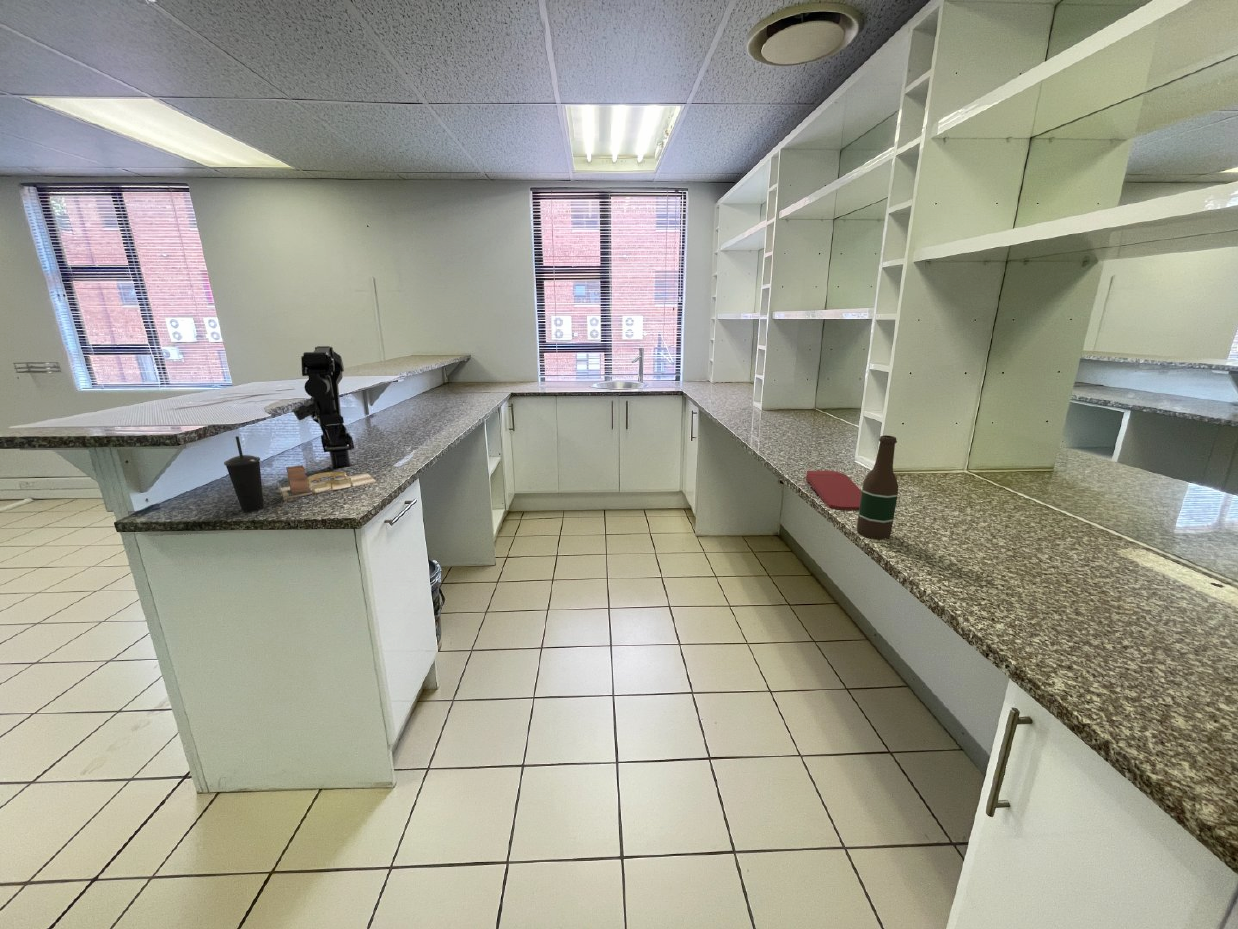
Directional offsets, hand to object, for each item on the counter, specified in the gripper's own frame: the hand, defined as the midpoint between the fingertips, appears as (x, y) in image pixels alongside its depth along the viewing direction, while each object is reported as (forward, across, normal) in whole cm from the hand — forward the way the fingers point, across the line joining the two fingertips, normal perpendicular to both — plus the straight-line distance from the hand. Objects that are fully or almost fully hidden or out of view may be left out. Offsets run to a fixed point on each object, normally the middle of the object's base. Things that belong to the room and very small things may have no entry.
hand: (330, 442), depth 153 cm
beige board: (+12, +10, -4) cm, 16 cm away
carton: (+13, +110, +112) cm, 157 cm away
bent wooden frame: (+12, +10, -4) cm, 16 cm away
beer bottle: (+12, +130, +91) cm, 159 cm away
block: (+11, +11, -12) cm, 19 cm away
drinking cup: (+12, +16, -23) cm, 31 cm away
